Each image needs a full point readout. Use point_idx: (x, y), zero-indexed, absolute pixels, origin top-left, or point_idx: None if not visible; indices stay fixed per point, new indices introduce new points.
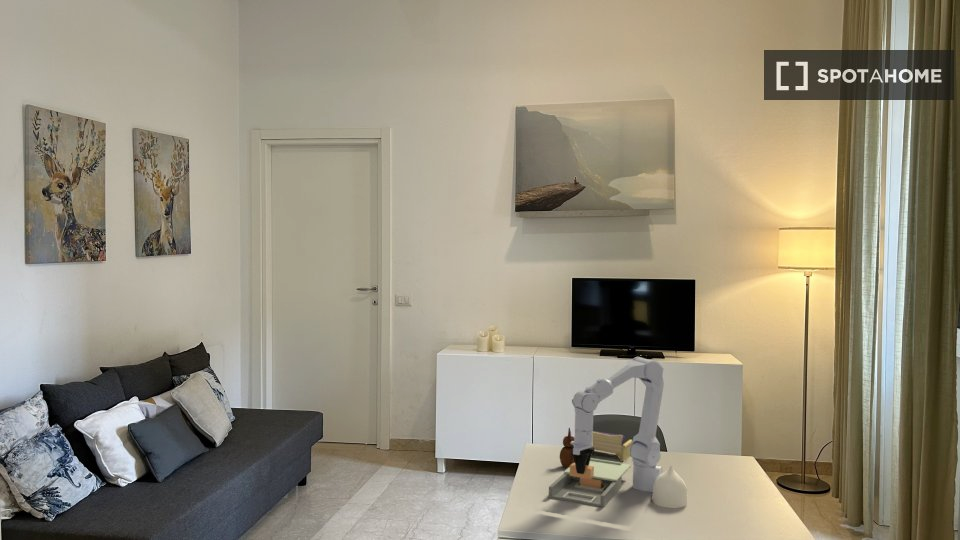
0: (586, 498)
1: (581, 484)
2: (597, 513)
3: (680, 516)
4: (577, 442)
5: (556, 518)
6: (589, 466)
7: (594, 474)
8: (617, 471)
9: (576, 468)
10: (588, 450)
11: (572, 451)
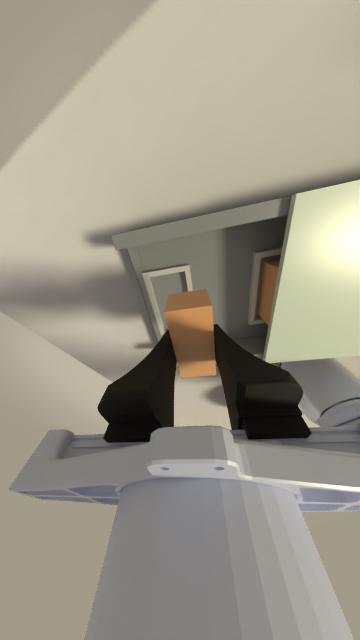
0: None
1: (265, 268)
2: (145, 345)
3: (209, 408)
4: (113, 528)
5: (66, 305)
6: (206, 366)
7: (292, 310)
8: (343, 345)
9: (160, 339)
10: (234, 427)
11: (105, 407)
